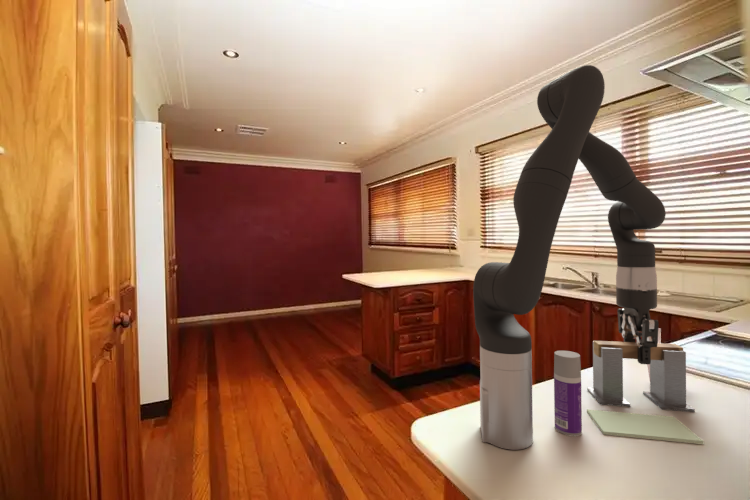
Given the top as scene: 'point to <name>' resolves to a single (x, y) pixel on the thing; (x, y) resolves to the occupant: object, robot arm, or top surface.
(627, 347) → the rail
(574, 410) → the container
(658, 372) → the post right
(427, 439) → the top surface
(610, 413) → the mat
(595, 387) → the post left
